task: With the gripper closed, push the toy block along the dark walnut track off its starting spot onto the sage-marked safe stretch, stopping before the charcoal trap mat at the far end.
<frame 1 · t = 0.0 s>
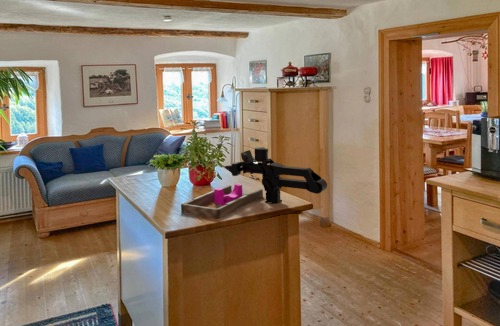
hand: (230, 165, 235), 17 cm above the table, tool horizontal, fingers open, 9 cm apart
trap track: (224, 204, 224), on the table
toy block: (230, 202, 228), resting in trap track
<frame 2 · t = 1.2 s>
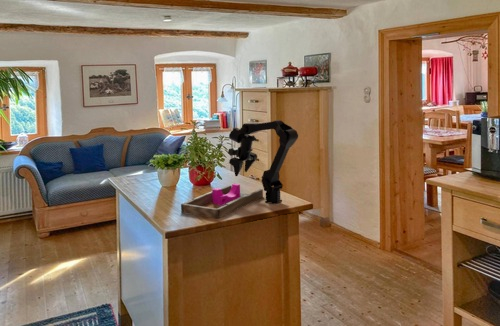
hand: (240, 173, 237), 12 cm above the table, tool tilted 15°, fingers open, 9 cm apart
toy block: (228, 201, 229), resting in trap track
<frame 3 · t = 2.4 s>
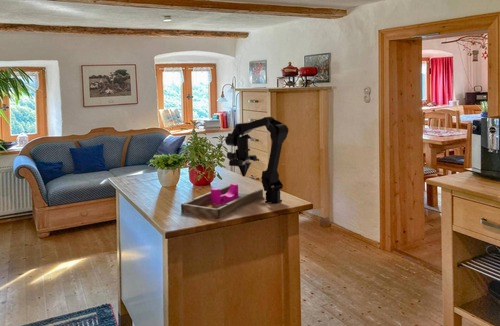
hand: (243, 176, 237), 10 cm above the table, tool pointing down, fingers closed
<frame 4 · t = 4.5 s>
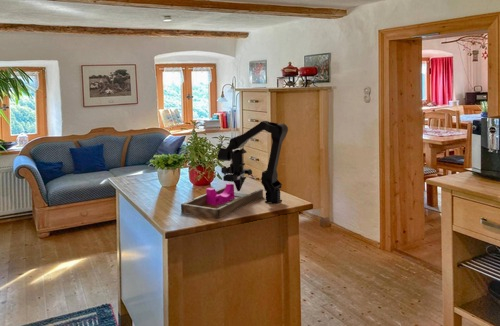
hand: (238, 191, 234), 4 cm above the table, tool pointing down, fingers closed
toy block: (222, 201, 229), resting in trap track, touching gripper
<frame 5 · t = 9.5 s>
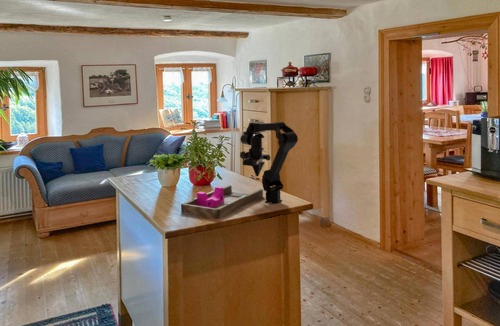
hand: (257, 176, 233), 11 cm above the table, tool pointing down, fingers closed
toy block: (212, 205, 223), resting in trap track
at the end: toy block inside the target area (5.0 cm from its centre), resting in trap track; toy block tilted 0° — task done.
